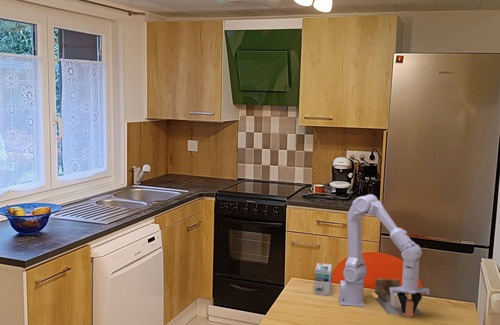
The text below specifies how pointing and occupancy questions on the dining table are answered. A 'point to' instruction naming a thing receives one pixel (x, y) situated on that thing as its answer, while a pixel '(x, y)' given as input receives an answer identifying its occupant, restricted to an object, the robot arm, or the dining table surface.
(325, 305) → the dining table surface
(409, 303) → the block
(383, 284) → the panel
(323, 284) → the light bulb box
